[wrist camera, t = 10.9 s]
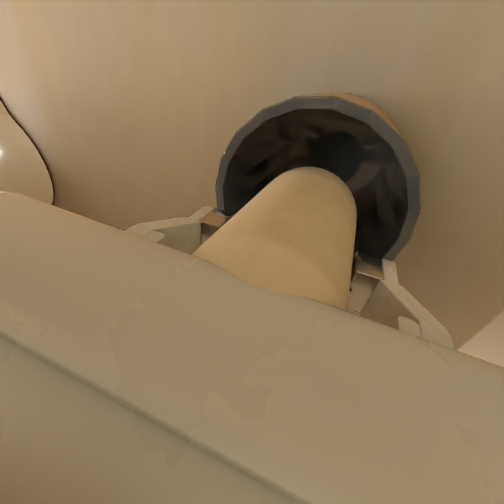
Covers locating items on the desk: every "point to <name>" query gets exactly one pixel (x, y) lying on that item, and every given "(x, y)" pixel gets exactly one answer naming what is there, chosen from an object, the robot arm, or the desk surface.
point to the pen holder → (330, 163)
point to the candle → (292, 237)
